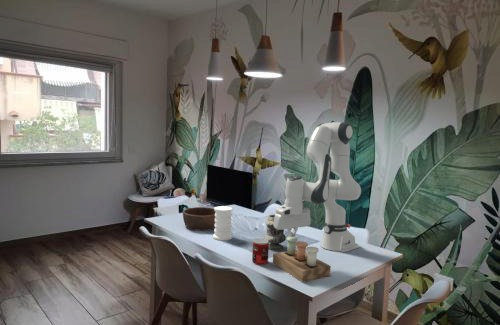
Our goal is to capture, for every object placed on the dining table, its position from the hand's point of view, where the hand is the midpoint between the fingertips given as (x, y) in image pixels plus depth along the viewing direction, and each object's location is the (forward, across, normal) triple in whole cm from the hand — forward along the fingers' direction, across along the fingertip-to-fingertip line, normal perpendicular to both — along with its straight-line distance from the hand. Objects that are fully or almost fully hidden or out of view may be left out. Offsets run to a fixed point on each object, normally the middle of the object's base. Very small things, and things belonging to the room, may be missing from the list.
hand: (291, 236), depth 178 cm
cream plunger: (+9, 0, +16) cm, 18 cm away
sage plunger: (+8, 0, 0) cm, 8 cm away
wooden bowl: (+14, +17, -78) cm, 81 cm away
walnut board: (+14, 0, +8) cm, 16 cm away
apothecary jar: (+14, -6, -24) cm, 29 cm away
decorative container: (+14, +14, -51) cm, 55 cm away
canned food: (+14, +13, -8) cm, 21 cm away
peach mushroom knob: (+8, 0, +8) cm, 12 cm away
